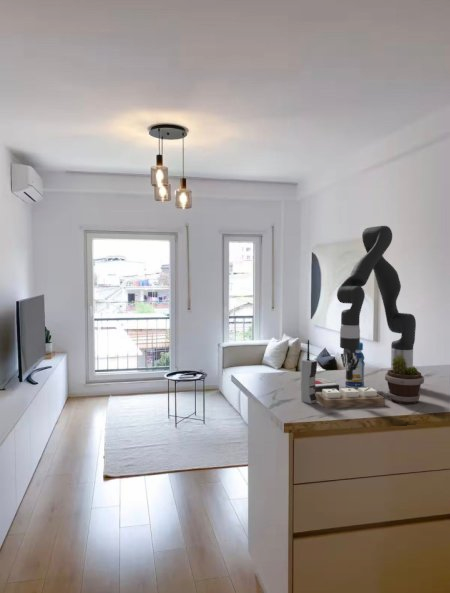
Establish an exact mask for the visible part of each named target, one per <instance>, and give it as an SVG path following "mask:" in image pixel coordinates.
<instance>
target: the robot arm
mask: <svg viewBox="0 0 450 593" xmlns="http://www.w3.org/2000/svg"><path fill="white" fill-rule="evenodd" d="M361 236H362V237H361V238H362V243H363V246H364V249H365V252H366V253H365V255H363V256H362V257H361V258H360V259H359V260H358V261H357V262H356V263H355V265H353V269H352V271H351V273H350V275H349V276H347V278H345V280H344V281H343V282H342V283H341V284H340V285H339V287H338V289H337V292H336V298H337V301H339V302H340V303H342V304H351V306H350V308H347V309H343V310H342V311H341V313H340V314H341V315H340V324H341V325H340V331H339V332H340V333H339V335H340V336H339V347H340V348H341V349H343V351H342V352H343V353H340V357H341V362H342V365H343V366H342V367H343V368H344V370H345V375H346V379H347V380H352V379H353V370H356V367H357V365H358V362H359V359H356V349H359V348H360V342H361V328H360V319H361V318H360V314H361V311H362V308H363V305H364V300H365V297H366V296H365V294H366V292H365V290H364V288H363V287H364V286H365V285H366V284H367V282H368V280H369V278H370V276H371V274H372V272H373V273H374V276H375V280H376V283H377V284H376V285H377V288H378V289H379V294H380V296H381V297H380V298H381V300H382V304H383V307H384V313H385V317H386V322H387V323H386V324H387V326H388V329H389V331H391V333H395V334H401V335H400V338H399V339H398V340H393V341H392V342H391V346H390V347H391V348H390V350H391V353H390V354H391V356H390V358H391V359H390V370H393V366H392V363H393V361H392V360H394V358H396V357H397V356H398V355H399V354H400V356H401V355H403V356H402V358H403V359H405V361H406V362H405V364H407V365H405V366H406V367H408V366H409V367H410V366H411V367H415V368H416V366H414V345H415V341H416V330H417V329H416V328H417V327H416V326H417V325H416V324H417V323H416V317H415V315H413V314H412V313H404V312H399V310H398V306H397V300H398V298H399V295H400V293H401V288H402V285H401V280H400V277H399V274H398V271H397V270H396V269H395V268H394V267H393V265H392V264H390V262H389V261H388V260H386V259H385V258H384V254H385V252H386V251H387V249H388V248H389V247H390V245H391V243H392V241H393V232H392V229H391V228H390V227H389V226H387V225H378V226H371V227H366V228H365V229H363V231H362V235H361ZM396 355H397V356H396ZM409 367H408V368H409Z"/></svg>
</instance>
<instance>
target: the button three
mask: <svg viewBox="0 0 450 593" xmlns="http://www.w3.org/2000/svg"><path fill="white" fill-rule="evenodd" d="M357 391H359V395H361V396H363V397H370V396H377V394H378V391H377V389H374V388H373V387H362V388H357Z"/></svg>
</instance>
